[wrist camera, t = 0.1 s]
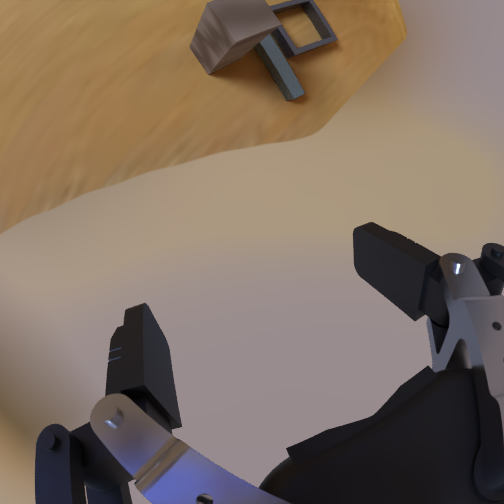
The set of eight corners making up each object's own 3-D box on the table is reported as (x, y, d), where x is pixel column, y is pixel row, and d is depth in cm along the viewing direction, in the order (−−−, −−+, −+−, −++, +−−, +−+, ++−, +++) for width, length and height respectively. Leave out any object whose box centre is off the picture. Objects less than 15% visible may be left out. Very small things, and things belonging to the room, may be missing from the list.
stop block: (189, 47, 28) (207, 2, 16) (221, 32, 28) (254, -13, 16) (208, 75, 30) (235, 42, 18) (239, 59, 30) (281, 24, 18)
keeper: (209, -13, 24) (213, -21, 22) (277, -31, 24) (284, -38, 22) (286, 100, 35) (294, 99, 33) (344, 72, 35) (354, 70, 33)
